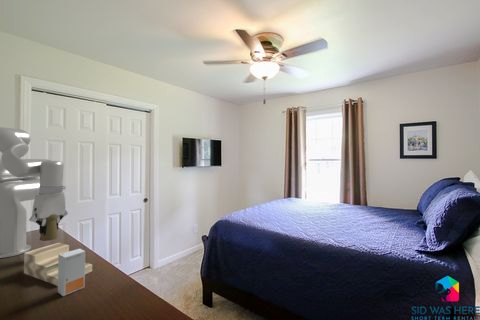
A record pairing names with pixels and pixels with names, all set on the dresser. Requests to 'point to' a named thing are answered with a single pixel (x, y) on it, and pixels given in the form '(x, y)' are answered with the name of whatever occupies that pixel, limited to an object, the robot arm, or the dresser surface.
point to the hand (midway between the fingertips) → (48, 232)
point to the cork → (50, 229)
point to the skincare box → (71, 271)
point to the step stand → (47, 262)
